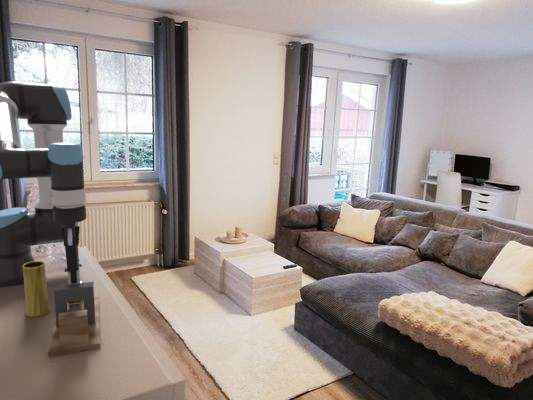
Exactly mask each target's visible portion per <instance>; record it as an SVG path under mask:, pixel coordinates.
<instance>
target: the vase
mask: <svg viewBox="0 0 533 400" xmlns="http://www.w3.org/2000/svg"><path fill="white" fill-rule="evenodd" d="M45 264H46V263H45V262H44V261H40V260H35V261H33V262H28V263H25V264H24V265H23V266H22V268H23V277H24V283H23V284H24V285H23V287H24V289H23V290H24V304H25V311H24V314H25V316H26V317H29V318H30V317H31V318H36V317H41V316H43V315H45V314H48V313H49V312H50V309H51V307H50V301H49V295H48V284H47V278H46V277H47V276H46V266H45Z"/></svg>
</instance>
